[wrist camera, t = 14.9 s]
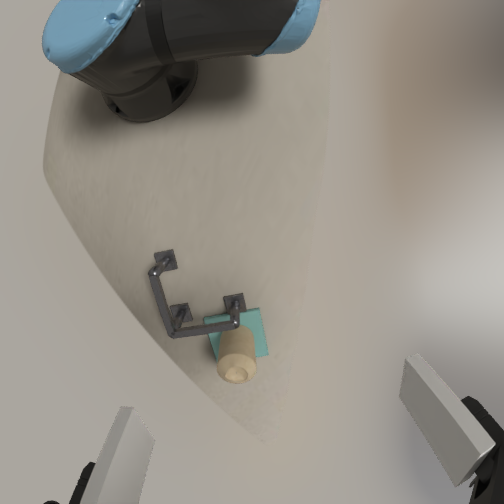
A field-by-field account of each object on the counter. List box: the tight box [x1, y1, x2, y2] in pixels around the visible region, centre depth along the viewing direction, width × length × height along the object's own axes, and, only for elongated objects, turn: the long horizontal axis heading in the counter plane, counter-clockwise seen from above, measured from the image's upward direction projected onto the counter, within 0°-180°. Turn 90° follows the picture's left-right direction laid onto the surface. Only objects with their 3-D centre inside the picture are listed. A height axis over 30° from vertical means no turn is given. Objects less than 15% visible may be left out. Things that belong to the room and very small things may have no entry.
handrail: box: [148, 249, 247, 339], centre depth 39 cm, size 12×12×8 cm
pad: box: [204, 308, 269, 362], centre depth 45 cm, size 9×9×1 cm
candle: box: [217, 325, 257, 384], centre depth 40 cm, size 6×6×10 cm
